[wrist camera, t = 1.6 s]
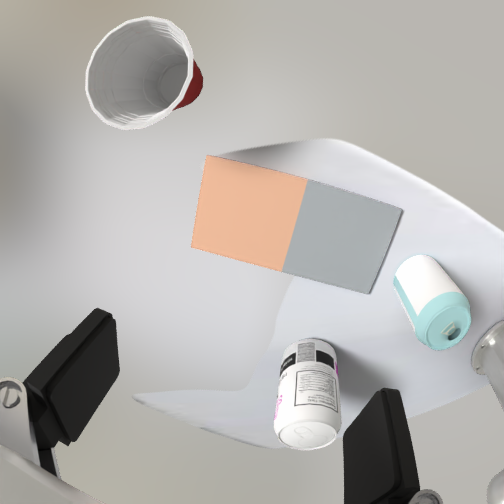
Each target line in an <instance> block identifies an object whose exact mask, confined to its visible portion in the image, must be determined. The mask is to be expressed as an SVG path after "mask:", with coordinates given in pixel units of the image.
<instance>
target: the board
mask: <svg viewBox="0 0 504 504" xmlns="http://www.w3.org/2000/svg"><path fill="white" fill-rule="evenodd" d="M401 211H402V209H401V208H398V207H395V206H392V205H389V204H386V203H384V202H381V201H378V200H375V199H372V198H369V197H366V196H362V195H359V194H356V193H353V192H350V191H347V190H343V189H340V188H337V187H333V186H330V185H327V184H323V183H320V182H316V181H313V180H309V179H306V178H302V177H298V176H295V175H291V174H287V173H283V172H280V171H276V170H272V169H268V168H264V167H260V166H255V165H251V164H247V163H243V162H238V161H234V160H229V159H225V158H220V157H215V156H211V155H207V156H206V161H205V166H204V172H203V177H202V182H201V189H200V194H199V200H198V206H197V212H196V218H195V224H194V230H193V237H192V243H191V247H192V248H195V249H199V250H203V251H206V252H210V253H214V254H217V255H221V256H225V257H228V258H232V259H236V260H239V261H243V262H247V263H250V264H254V265H258V266H262V267H265V268H269V269H273V270H277V271H280V272H284V273H288V274H292V275H295V276H299V277H303V278H307V279H310V280H314V281H318V282H322V283H326V284H330V285H333V286H337V287H341V288H345V289H349V290H353V291H356V292H360V293H364V294H369V291H370V289H371V287H372V285H373V282H374V280H375V278H376V275H377V273H378V271H379V268H380V266H381V264H382V261H383V259H384V256H385V254H386V251H387V249H388V246H389V244H390V241H391V238H392V236H393V233H394V231H395V228H396V225H397V222H398V220H399V217H400V214H401Z"/></svg>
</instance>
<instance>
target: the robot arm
mask: <svg viewBox="0 0 504 504" xmlns="http://www.w3.org/2000/svg"><path fill="white" fill-rule="evenodd" d="M471 364H472V367H473V369H474V371H475V372H476V373H477V374H480V375H486V376H487V378H488V380H489V382H490V384H491V386H492V388H493V390H494V392H495V393H496V396H497V398H498V400H499V402H500V404H501V406H502V408H503V411H504V320H503V321H500V322H499V323H497V324H496V325H494V326H493V327H492V328H491V329H489V330H488V331H487V332H486V333H485V334H484V336H483V337H482V338H481V339H480V341H479V342H478V344H477V346H476V347H475V349H474V352H473V354H472V359H471ZM119 371H120V367H119V357H118V346H117V332H116V321H115V319H113V317H112V314H111V313H108V312H106V311H104V310H101V309H99V308H96V309H94V310H93V311H92V312H91V313H90V314H89V315H88V316H87V317H86V318H85V319H84V320H83V321H82V322H81V323H80V324H79V325H78V326H77V328H75V330H74V331H73V332H72V333H71V334H69V335H66V336H65V337H64V338H63V339H62V340H61V341H60V342H59V343H58V344H57V346H55V348H54V349H53V350H52V351H51V352H50V353H49V354H48V355H47V356H46V357H45V358H44V359H43V360H42V361H41V363H40V364H39V365H38V366H37V367H36V368H35V369H34V370H33V371H32V373H31V374H30V375H29V376H28V377H27V378H26V379H25V381H24V382H23V383H22V382H20V381H19V380H18V379H16V378H12V377H4V378H1V379H0V504H105V503H103V502H101V501H99V500H97V499H95V498H93V497H91V496H89V495H87V494H86V493H84V492H82V491H80V490H78V489H76V488H74V487H73V486H71V485H69V484H67V483H66V482H64V481H62V480H61V476H60V472H59V468H58V464H57V459H56V455H55V450H54V447H55V445H56V444H57V442H58V441H60V442H62V443H64V444H65V445H67V446H69V444H70V442H71V441H72V442H75V441H76V440H77V439H78V437H79V436H80V434H81V433H82V431H83V430H84V428H85V426H86V425H87V423H88V422H89V420H90V419H91V417H92V415H93V414H94V412H95V411H96V409H97V408H98V406H99V405H100V403H101V402H102V400H103V398H104V397H105V395H106V394H107V392H108V391H109V389H110V388H111V386H112V385H113V383H114V382H115V380H116V379H117V377H118V375H119ZM343 454H344V504H443V501H442V499H441V497H440V495H439V494H438V493H436V492H435V491H433V490H428V489H424V490H421V491H420V485H419V478H418V473H417V467H416V461H415V456H414V451H413V446H412V441H411V436H410V432H409V428H408V424H407V419H406V415H405V411H404V407H403V403H402V399H401V395H400V392H399V390H396V389H388V388H383V389H381V390H380V391H377V392H376V393H375V394H374V396H373V397H372V398H371V400H370V401H369V402H368V404H367V405H366V406H365V407H364V409H363V410H362V411H361V413H360V414H359V415H358V416H357V417H356V419H355V420H354V421H353V422H352V424H351V425H350V426H349V427H348V428H347V430H346V431H345V433H344V435H343ZM487 502H488V504H504V469H503V470H502V471H501V472H499V473H498V474H497V475H496V476H494V478H493V479H492V480H491V481H490V483H489V485H488V488H487Z"/></svg>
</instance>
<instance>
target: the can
mask: <svg viewBox="0 0 504 504" xmlns="http://www.w3.org/2000/svg"><path fill="white" fill-rule="evenodd" d="M394 289H395V292H396V294H397V296H398V298H399V300H400V302H401V304H402V306H403V308H404V310H405V312H406V315H407V317H408V319H409V321H410V323H411V325H412V328H413V330H414V332H415V334H416V336H417V338H418V340H419V341H420V342H422V343H423V344H425V345H427V346H428V347H429V348H431V349H433V350H445V349H448V348H451V347H453V346H454V345H456V344H457V343H458V342H460V341H461V340H462V339H463V338H464V336H465V335H466V334H467V332H468V330H469V328H470V325H471V314H470V305H469V301H468V299H467V298H466V297H465V295H464V294H463V293H462V292H461V290H460V289H459V288H458V287H457V285H456V284H455V283H454V282H453V281H452V279H451V278H450V277H449V276H448V275H447V273H446V272H445V271H444V270H443V269H442V268H441V266H440V265H439V264H438V263H437V262H436V261H435V260H434V259H433V258H432V257H430V256H427V255H417V256H414V257H411V258H409V259H408V260H406V261H405V262H404V263H403V264H402V265H401V266H400V267H399V269H398V270H397V272H396V275H395V278H394Z"/></svg>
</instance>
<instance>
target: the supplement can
mask: <svg viewBox="0 0 504 504" xmlns="http://www.w3.org/2000/svg"><path fill="white" fill-rule="evenodd" d="M341 424H342V422H341V406H340V392H339V380H338V369H337V359H336V354H335V351H334V349H333V348H332V347H331V346H330V345H329V344H328V343H326V342H324V341H321V340H318V339H303V340H299V341H297V342H294V343H292V344H291V345H290V346H288V347H287V348H286V349H285V351H284V353H283V355H282V362H281V371H280V380H279V388H278V396H277V404H276V412H275V419H274V430H275V432H276V434H277V435H278V439H279V441H280V442H281V443H282V444H283V445H285V446H287V447H289V448H293V449H297V450H315V449H318V448H323V447H325V446H327V445H329V444H331V443H332V442H333V441H334V440H335V439H336V435H337V434H338V432H339V430H340V428H341Z"/></svg>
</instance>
